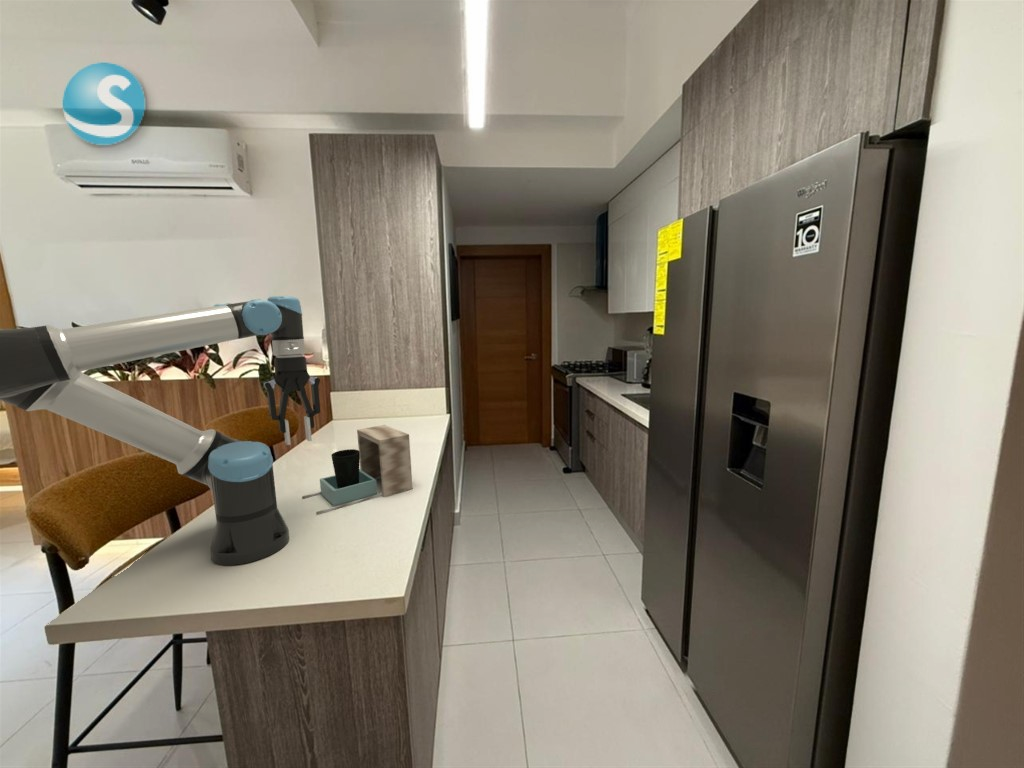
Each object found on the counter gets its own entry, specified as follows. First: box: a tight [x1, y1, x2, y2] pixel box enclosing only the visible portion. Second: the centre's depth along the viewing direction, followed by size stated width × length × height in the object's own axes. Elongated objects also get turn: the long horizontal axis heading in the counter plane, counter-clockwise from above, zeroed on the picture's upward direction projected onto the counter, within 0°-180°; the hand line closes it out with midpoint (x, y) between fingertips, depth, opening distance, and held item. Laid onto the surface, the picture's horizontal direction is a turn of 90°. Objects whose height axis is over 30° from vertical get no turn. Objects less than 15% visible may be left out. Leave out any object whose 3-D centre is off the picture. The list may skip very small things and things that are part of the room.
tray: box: [319, 468, 378, 507], centre depth 123 cm, size 12×13×5 cm
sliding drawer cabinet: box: [301, 424, 414, 515], centre depth 124 cm, size 27×18×17 cm, turn 130°
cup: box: [331, 448, 360, 489], centre depth 123 cm, size 8×8×12 cm
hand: (298, 441), depth 113 cm, fingers open, 4 cm apart
